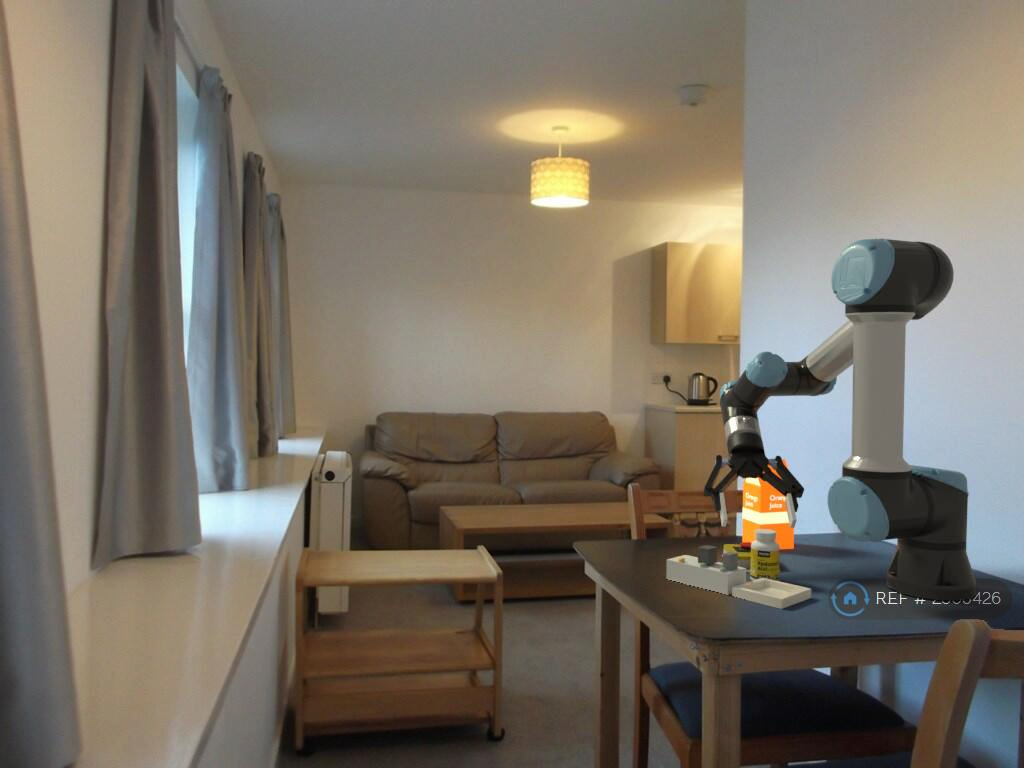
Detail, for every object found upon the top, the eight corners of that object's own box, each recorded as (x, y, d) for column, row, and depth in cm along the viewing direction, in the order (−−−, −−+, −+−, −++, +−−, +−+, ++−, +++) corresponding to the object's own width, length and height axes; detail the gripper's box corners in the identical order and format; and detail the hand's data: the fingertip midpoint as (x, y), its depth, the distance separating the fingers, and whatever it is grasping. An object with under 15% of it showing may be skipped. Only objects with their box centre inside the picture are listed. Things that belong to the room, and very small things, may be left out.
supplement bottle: (754, 584, 162) (755, 534, 162) (746, 577, 167) (747, 528, 167) (783, 584, 162) (783, 533, 162) (774, 577, 167) (774, 528, 167)
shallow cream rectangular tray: (811, 597, 153) (811, 588, 153) (781, 608, 146) (781, 599, 146) (762, 586, 160) (762, 577, 160) (732, 596, 154) (732, 587, 154)
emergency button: (763, 537, 186) (782, 553, 171) (763, 557, 186) (781, 575, 171) (720, 537, 186) (735, 553, 171) (720, 556, 186) (735, 574, 171)
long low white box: (745, 589, 159) (746, 552, 158) (727, 595, 155) (727, 557, 154) (685, 574, 169) (685, 539, 169) (666, 579, 165) (666, 544, 165)
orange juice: (794, 548, 192) (795, 461, 191) (759, 550, 190) (760, 462, 189) (774, 541, 199) (775, 457, 199) (741, 543, 197) (742, 458, 196)
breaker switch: (717, 562, 161) (717, 547, 161) (708, 565, 160) (708, 549, 159) (706, 560, 163) (706, 544, 163) (697, 562, 161) (698, 547, 161)
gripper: (688, 429, 182) (698, 512, 167) (806, 430, 180) (826, 513, 166) (684, 451, 187) (694, 532, 173) (799, 452, 186) (818, 534, 171)
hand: (759, 523), depth 169 cm, fingers open, 13 cm apart
